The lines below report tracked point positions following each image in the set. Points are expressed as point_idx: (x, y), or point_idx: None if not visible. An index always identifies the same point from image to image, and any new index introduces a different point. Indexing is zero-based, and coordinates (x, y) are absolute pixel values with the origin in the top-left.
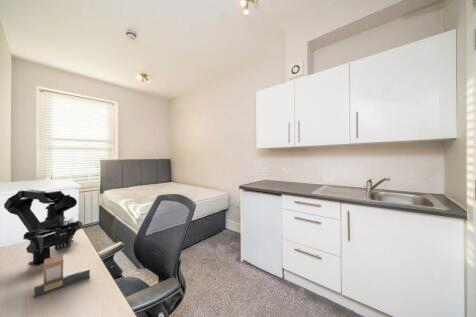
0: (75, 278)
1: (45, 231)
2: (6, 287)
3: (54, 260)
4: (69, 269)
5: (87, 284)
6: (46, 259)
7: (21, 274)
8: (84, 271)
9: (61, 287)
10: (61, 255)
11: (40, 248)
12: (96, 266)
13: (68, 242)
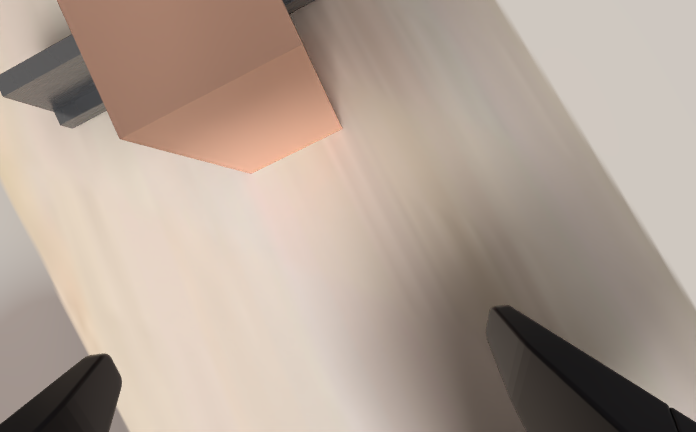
0: None
1: None
2: (590, 164)
3: None
4: (253, 280)
5: (43, 13)
6: (267, 28)
7: (600, 339)
8: (26, 60)
9: None
10: (123, 107)
11: (534, 370)
12: (68, 252)
13: (43, 399)
